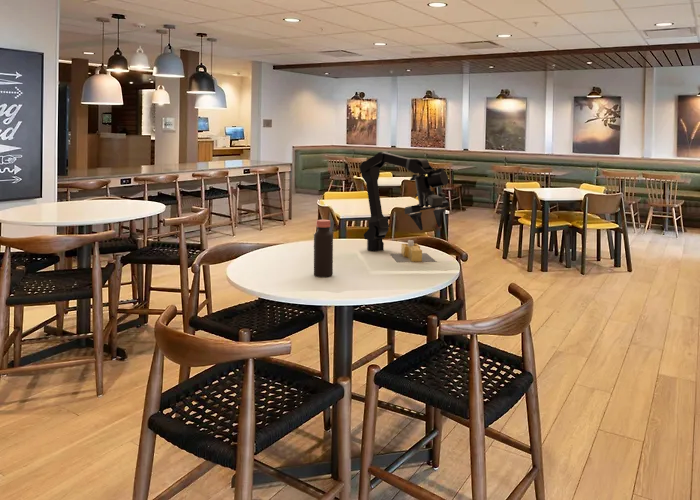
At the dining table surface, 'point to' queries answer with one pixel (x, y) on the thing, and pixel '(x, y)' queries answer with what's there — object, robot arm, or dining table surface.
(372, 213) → the robot arm
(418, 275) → the dining table surface
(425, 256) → the stand
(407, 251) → the tan long block
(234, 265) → the dining table surface
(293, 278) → the dining table surface
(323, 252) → the bottle
